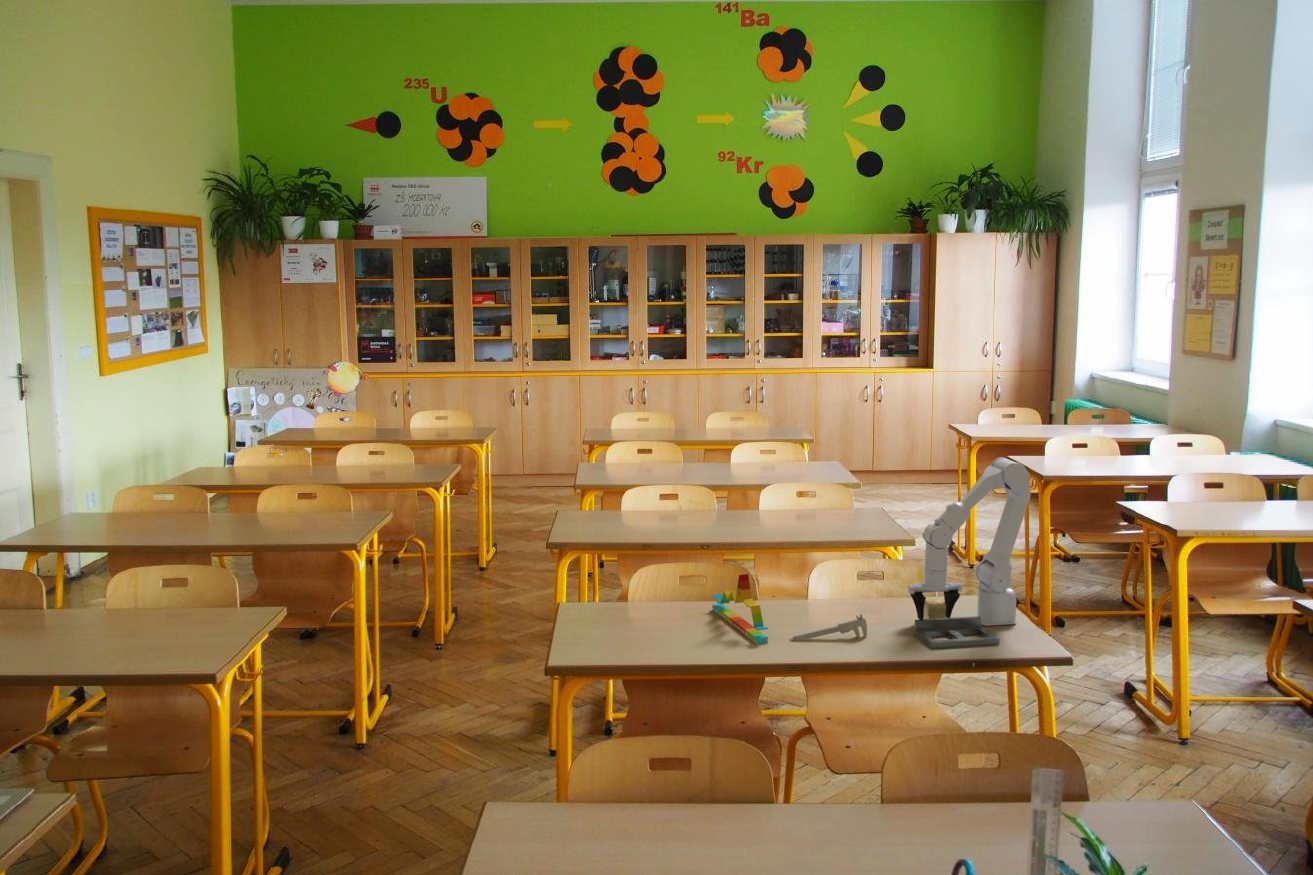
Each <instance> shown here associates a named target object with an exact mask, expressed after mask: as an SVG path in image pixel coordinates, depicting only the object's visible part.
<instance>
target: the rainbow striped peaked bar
mask: <svg viewBox="0 0 1313 875" xmlns="http://www.w3.org/2000/svg"><path fill="white" fill-rule="evenodd" d="M737 581H738V582H737V587H736V590H733V589H732V590H725V591H723V593H714V594H713V597H714V600H715V602H716V603H715V604H714V603H713V604H712V612H714V611H715V612H714V613H715V614H717V615H718V614H719V615H720V616H719V615H718V616H719V617H721V618H722V617H723V618H724V619H723V618H722V619H723V620H725V621H726V622H727V621H728V622H727V623H729V624H730V625H731V624H732V625H733V627H734V628H735V629H736V630H738V631H739V632H741V633H742V634H743V635H744V636H746V638H748V639H750V640H751V641H752V642H753V643H755V644H756V645H763V644H768V642H769V636H767V635H766V634H765V633H763V632H762V631H763V630H768V629H769V627H768V626H764V621H763V615H762V609H761V605H760V604H756V602H755V600H754V599H753V598H752V596H753V595H752V591H751V583H750V578H749V574H748V573H744V574H739V575H738V580H737ZM731 601H734V603H735V604H740V603H744V604H745V606H746V608H750V611H751V617H752V623H753V625H752V624H751V623H749V622H748V621H747V620H746V619H745V618H742V617H741V616H740V615H739V614H737V613H736V612H735V611H733V610H732V609H730V608H729V607H727V605H725V604H729V603H730V602H731ZM732 625H731V626H732Z"/></svg>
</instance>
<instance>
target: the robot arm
mask: <svg viewBox="0 0 1313 875" xmlns="http://www.w3.org/2000/svg"><path fill="white" fill-rule="evenodd" d="M1029 478H1030V473H1029V471H1028V470H1027V469H1026V467H1025V466H1024V465H1023V464H1022V463H1020V462H1015V461H1013V460H1012V459H1011V460H1010V459H1008V458H1006V457H1003V456H1002V457H997V458H995V459H994V460H992V462H991V464H990V465H988V466H987V467H986V468H985V469H984V472H983V473H982V475H981V476H980V478H978V479H977V480H976V482H975V483H974V484H973V486H972V487H971V488H970V489H969V490H968V492H967V493H966V494H964V495H963V497H962V499H961V500H960V501H954V502H952V503H951V504H950V503H948V504H947V505H946V506H945V508H946V509H945V510H944V511H943V513H942V514H940V516H938V518H935V519H934V521H933V523H929V524H928V525H927V526H926V527H925V528H924V531H923V532H922V533H921V534H922V538H923V540H924V541H925V554H924V580H923V581H924V582H920V583H915V584H908V586H907V593H909V595H910V598H911V599H912V601H913V604H914V606H915V609H916V615H917V618H918V620H919V619H923V618H924V604H925V600H927V597H926V596H924V594H923V593H941V592H942V593H943V597H944V598H943V600H944V603H945V604H946V618H951V616H952V612H953V610H954V608H955V605H956V603H957V601H958V600H959V599H960V597H961V596H960V595H961V593H960V592H962V591H963V584H962V583H960V582H949V581H947V578H948V577H947V574H948V556H949V555H948V549H949V546H950V545H951V544H952V542H953V536H954V535H955V533H957V532H958V531H959V529H960V528H961V527H963V525H964V524H965V523H966V522H967V521H968V520H969V519H970V517H971V510H972V509H973V508H974V507H975V506H976V505H978V503H979V502H981V500H983V499H984V497H986V496H987V495H988V494H989V493H990V492H991V491H993V490H1000V489H1004V491H1005V493H1006V495H1007V499H1006V502H1005V505H1004V507H1003V511H1002V513H1001V517H1000V520H999V523H998V525H997V528H996V532H995V534H994V537H993V541H992V543H991V547H990V550H989V551H988V552H986V553H985V554H984V555H983V557H982V560H981V562H980V563H979V564H978V565H977V566H976V569H975V571H974V572H975V577H976V579H977V580H978V582H979V584H978V595H977V596H978V597H977V614H976V615H975V614H972V615H970V617H972V616H980V617H981V626H984V627H987V626H988V627H989V626H1002V625H1003V626H1006V625H1017V624H1018V623H1017V621H1016V616H1017V614H1016V611H1017V597H1016V592H1015V591H1014V589H1012V588H1010V586H1011V585H1012V584H1011V583H1012V576H1011V575H1012V574H1011V573H1012V570H1013V565H1012V561H1011V556H1012V553H1013V550H1014V547H1015V544H1016V541H1017V538H1018V535H1019V532H1020V528H1021V526H1022V523H1023V519H1024V517H1025V514H1026V511H1027V508H1028V505H1029V502H1030V499H1031V495H1032V493H1031V487H1030V482H1029V481H1030V480H1029Z"/></svg>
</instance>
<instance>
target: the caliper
mask: <svg viewBox="0 0 1313 875" xmlns="http://www.w3.org/2000/svg"><path fill="white" fill-rule="evenodd" d="M855 616H856V617H855V618H856V619H854V618H853V619H851V620H847V621H842V622H839V623H838V625H837V624H836V625H831V626H829V627H824V628H820V629H815V630H811V631H806V632H802V633H798V634H793V637H790V638H789V639H788V641H790V642H793V641H794V642H799V640H802V641H805V640H810V639H813V638H817V637H822V636H826V635H830V634H834V633H839V632H840V634H842V635H844V634H847V633H849V632H851V631H853V632H854V634H855V635H856V638H858V639H860V638H861V636H860V631H859V627H861V631H862V635H863V638H866V637H868V625H867V621H866V618H865V617H863V614H862V613H860V614H859V616H858V615H855Z"/></svg>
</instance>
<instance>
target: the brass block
mask: <svg viewBox="0 0 1313 875" xmlns="http://www.w3.org/2000/svg"><path fill="white" fill-rule="evenodd" d="M937 618H946V604H945V601H942V600H941V599H940V598H933V599H930V598H929V599H926V600H925V604H924V618H923V619H937Z"/></svg>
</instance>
